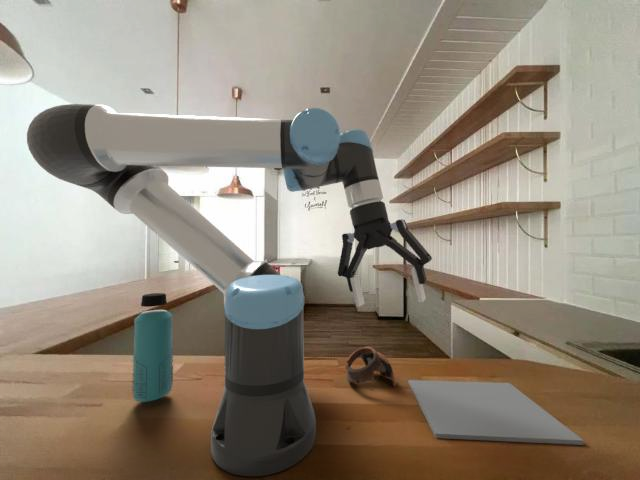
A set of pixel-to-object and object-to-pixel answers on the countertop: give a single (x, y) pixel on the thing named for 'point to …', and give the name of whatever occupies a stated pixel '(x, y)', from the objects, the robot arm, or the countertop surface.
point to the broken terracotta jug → (368, 366)
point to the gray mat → (487, 413)
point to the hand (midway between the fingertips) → (389, 303)
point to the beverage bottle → (152, 351)
